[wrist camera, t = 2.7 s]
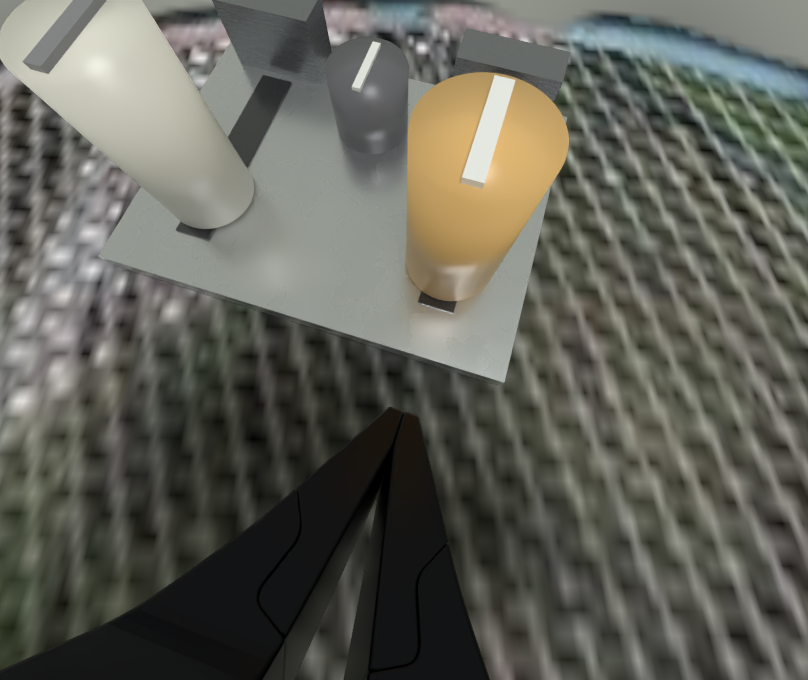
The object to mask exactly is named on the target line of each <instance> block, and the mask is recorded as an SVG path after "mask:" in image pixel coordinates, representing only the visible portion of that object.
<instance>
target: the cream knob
mask: <svg viewBox="0 0 808 680" xmlns="http://www.w3.org/2000/svg"><path fill="white" fill-rule="evenodd" d="M0 59H1V61H2V62H3V64H4V65H5V66H6V68H7V69H8V70H9V71H10V72H12V73H13V74H14V75H15V76H16V77H17V78H18V79H20V80H21V81H22V82H23V83H24V84H25V85H26V86H27V87H29V88H30V89H31V90H32V91H33V92H34V93H35V94H37V95H38V96H39V97H40V98H41V99H42V100H43V101H45V102H46V103H47V104H48V105H49V106H50V107H51V108H52V109H54V110H55V111H56V112H57V113H58V114H59V115H60V116H62V117H63V118H64V119H65V120H66V121H67V122H68V123H69V124H71V125H72V126H73V127H74V128H75V129H76V130H77V131H79V132H80V133H81V134H82V135H83V136H84V137H85V138H87V139H88V140H89V141H90V142H91V143H92V144H93V145H94V146H96V147H97V148H98V149H99V150H100V151H101V152H102V153H104V154H105V155H106V156H107V157H108V158H109V159H110V160H111V161H113V162H114V163H115V164H116V165H117V166H118V167H119V168H121V169H122V170H123V171H124V172H125V173H126V174H127V175H129V176H130V177H131V178H132V179H133V180H134V181H135V182H136V183H138V184H139V185H140V186H141V187H142V188H143V189H144V190H146V191H147V192H148V193H149V194H150V195H151V196H152V197H153V198H155V199H156V200H157V201H158V202H159V203H160V204H161V205H163V206H164V207H165V208H166V209H167V210H168V211H169V212H171V213H172V214H173V215H174V216H175V217H176V218H177V219H178V220H180V221H181V222H182V223H184V224H186V225H188V226H190V227H194V228H198V229H212V228H218V227H221V226H224V225H227V224H229V223H231V222H232V221H234V220H236V219H237V218H238V217H240V216H241V215H242V214H243V213H244V212H245V210H246V209H247V208H248V206H249V205H250V203H251V201H252V198H253V194H254V182H253V178H252V176H251V174H250V172H249V171H248V169H247V167H246V166H245V164H244V163H243V161H242V159H241V158H240V156H239V155H238V153H237V151H236V150H235V148H234V147H233V145H232V144H231V142H230V140H229V139H228V137H227V136H226V134H225V132H224V131H223V129H222V128H221V126H220V124H219V123H218V121H217V120H216V118H215V116H214V115H213V113H212V112H211V110H210V108H209V107H208V105H207V104H206V102H205V100H204V99H203V97H202V96H201V94H200V92H199V91H198V89H197V88H196V86H195V84H194V83H193V81H192V80H191V78H190V76H189V75H188V73H187V72H186V70H185V69H184V67H183V65H182V64H181V62H180V61H179V59H178V57H177V56H176V54H175V53H174V51H173V49H172V48H171V46H170V45H169V43H168V41H167V40H166V38H165V37H164V35H163V33H162V32H161V30H160V29H159V27H158V25H157V24H156V22H155V21H154V19H153V17H152V16H151V14H150V13H149V11H148V9H147V8H146V6H145V5H144V3H143V2H142V0H26V1H24V2H23V3H22V4H20V5H19V6H18V7H17V8H16V9H15V10H14V11H13V12H12V13H11V14H10V16H9V17H8V18H7V19H6V21H5V22H4V24H3V26H2V28H1V31H0Z"/></svg>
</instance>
